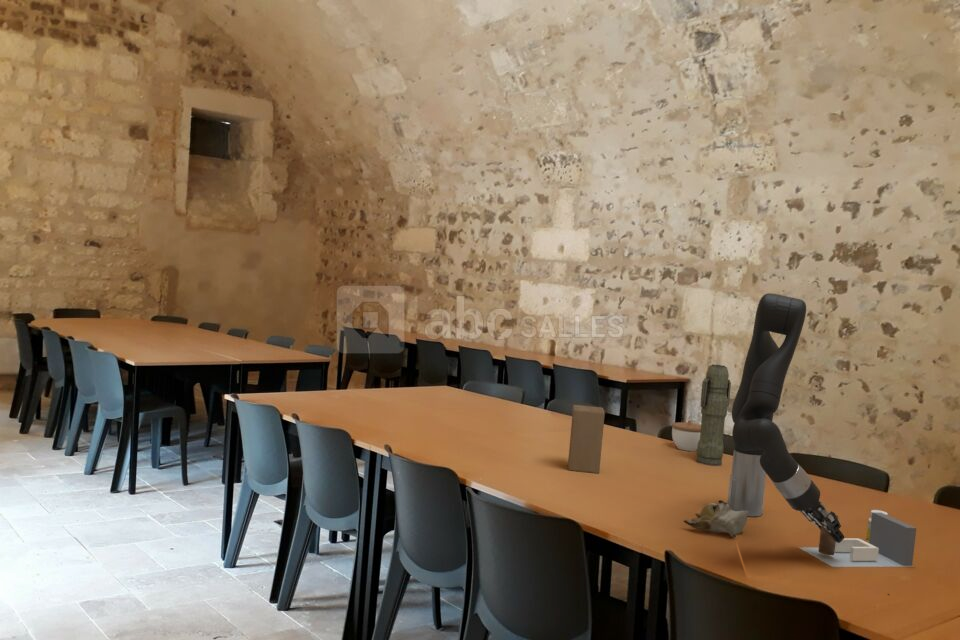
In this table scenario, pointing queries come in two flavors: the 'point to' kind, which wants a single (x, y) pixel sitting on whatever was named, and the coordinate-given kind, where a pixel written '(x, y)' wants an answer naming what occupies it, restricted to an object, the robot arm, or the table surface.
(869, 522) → the supplement bottle
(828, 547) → the dowel
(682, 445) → the lidded bowl
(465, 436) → the table surface
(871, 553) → the cradle
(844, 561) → the board with wall
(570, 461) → the wooden block
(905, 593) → the table surface
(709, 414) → the olive green tall piece
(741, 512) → the ceramic sculpture
